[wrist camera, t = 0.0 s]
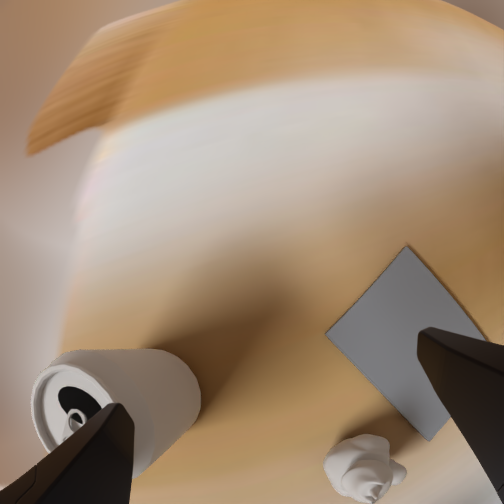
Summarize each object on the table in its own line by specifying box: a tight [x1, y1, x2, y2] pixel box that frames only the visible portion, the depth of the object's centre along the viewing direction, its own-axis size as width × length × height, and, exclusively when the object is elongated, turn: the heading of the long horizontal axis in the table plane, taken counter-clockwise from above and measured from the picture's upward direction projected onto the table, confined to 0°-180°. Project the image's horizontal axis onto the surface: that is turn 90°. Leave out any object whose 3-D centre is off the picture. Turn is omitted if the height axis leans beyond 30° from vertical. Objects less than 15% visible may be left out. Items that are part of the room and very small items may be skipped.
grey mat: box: [325, 246, 486, 441], centre depth 21 cm, size 14×10×1 cm
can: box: [31, 348, 201, 479], centre depth 16 cm, size 8×8×12 cm
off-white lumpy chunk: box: [323, 434, 407, 504], centre depth 15 cm, size 5×7×8 cm
